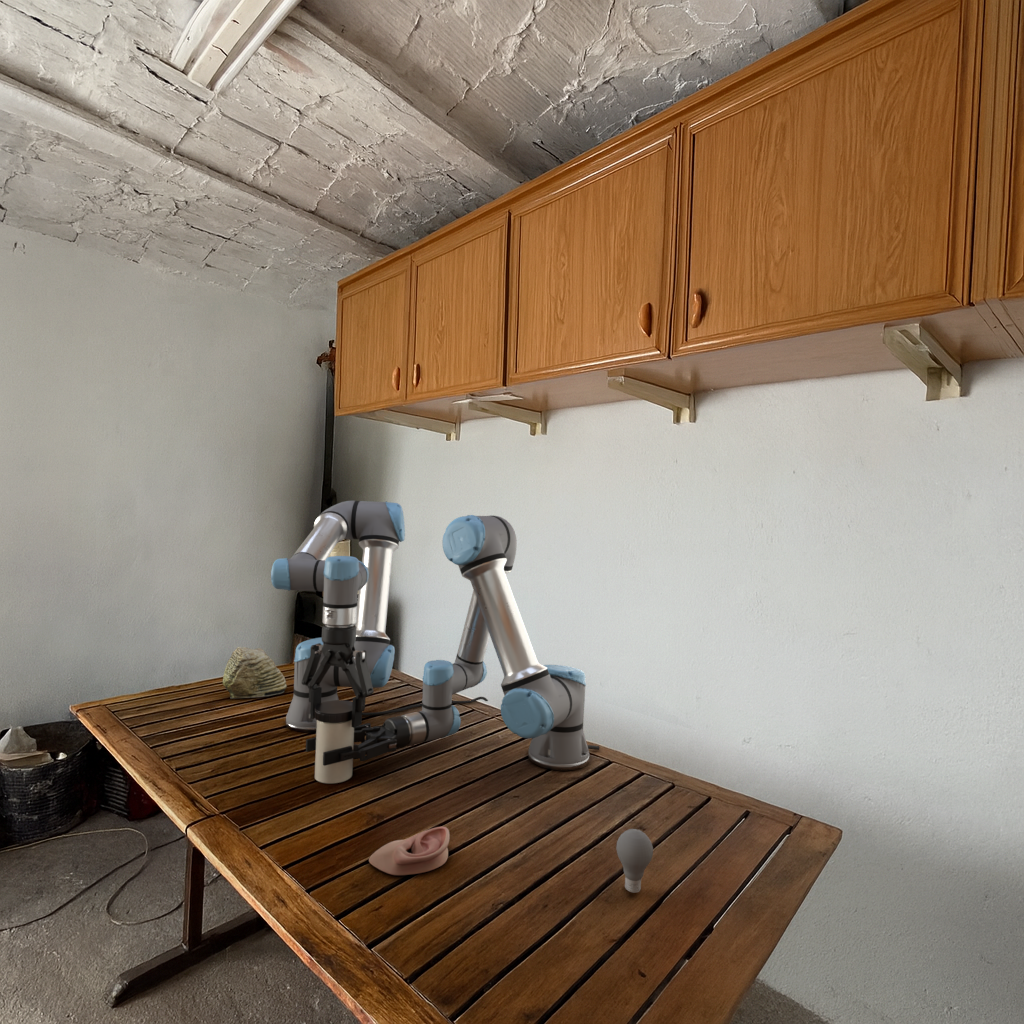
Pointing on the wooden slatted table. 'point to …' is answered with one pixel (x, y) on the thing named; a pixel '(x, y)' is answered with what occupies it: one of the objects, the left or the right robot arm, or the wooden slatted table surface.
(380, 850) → the anatomical model
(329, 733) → the jar
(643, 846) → the light bulb
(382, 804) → the wooden slatted table surface
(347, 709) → the lid
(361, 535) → the left robot arm
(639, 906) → the wooden slatted table surface
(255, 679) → the fossil
